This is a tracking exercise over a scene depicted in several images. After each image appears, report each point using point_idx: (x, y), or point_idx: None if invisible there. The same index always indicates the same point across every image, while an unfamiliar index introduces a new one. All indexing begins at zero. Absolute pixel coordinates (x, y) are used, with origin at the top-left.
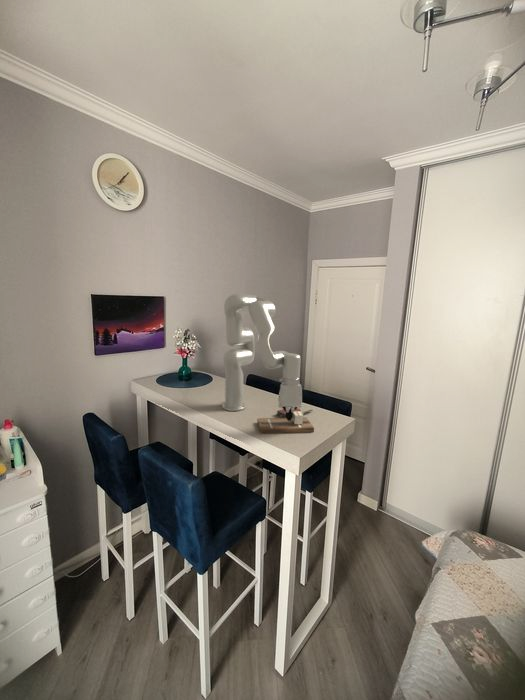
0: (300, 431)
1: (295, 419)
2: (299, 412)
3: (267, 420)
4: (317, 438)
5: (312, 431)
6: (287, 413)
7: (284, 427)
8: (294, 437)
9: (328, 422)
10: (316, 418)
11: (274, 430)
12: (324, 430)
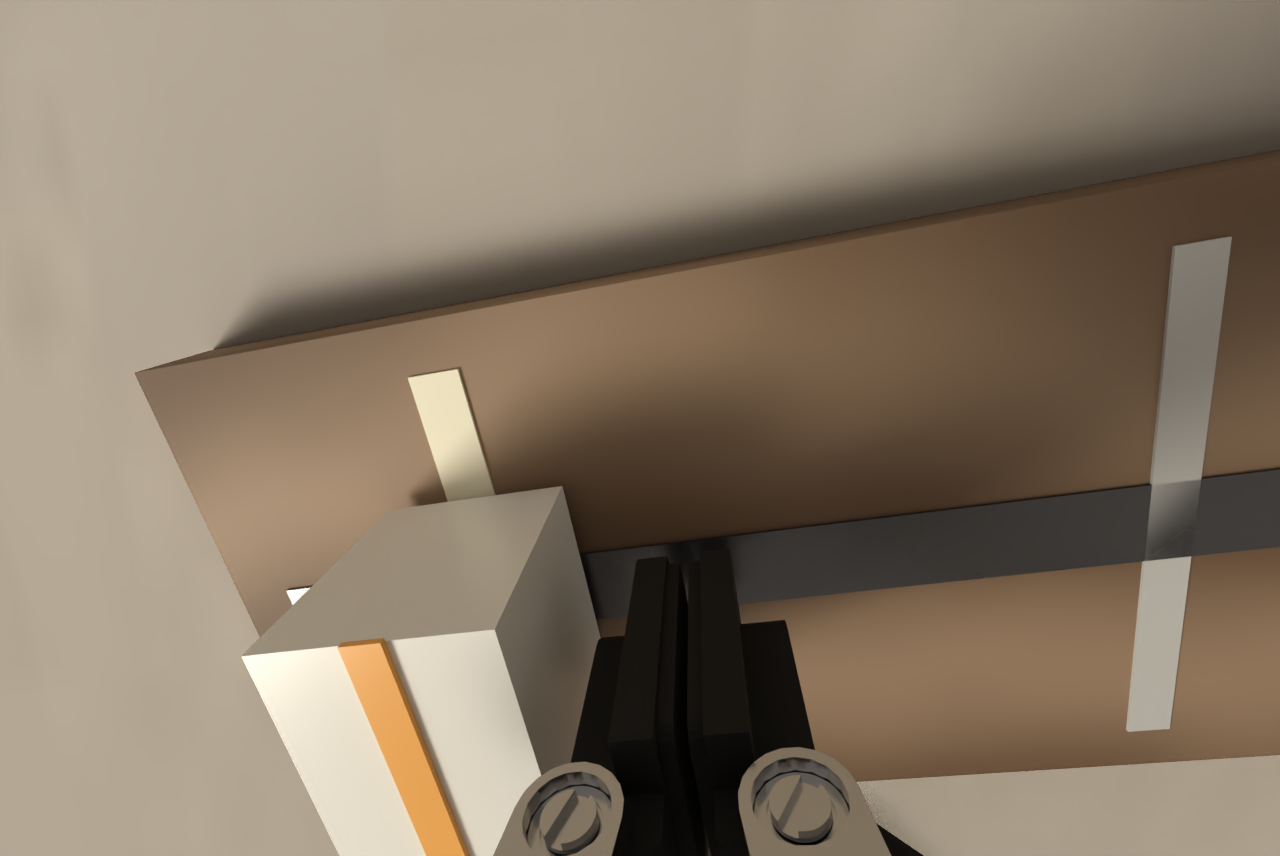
0: (456, 304)
1: (519, 553)
2: (374, 845)
3: (1184, 666)
4: (95, 40)
5: (225, 349)
6: (774, 738)
7: (829, 317)
8: (595, 13)
9: (44, 727)
10: (237, 840)
11: (1106, 186)
12: (41, 442)
